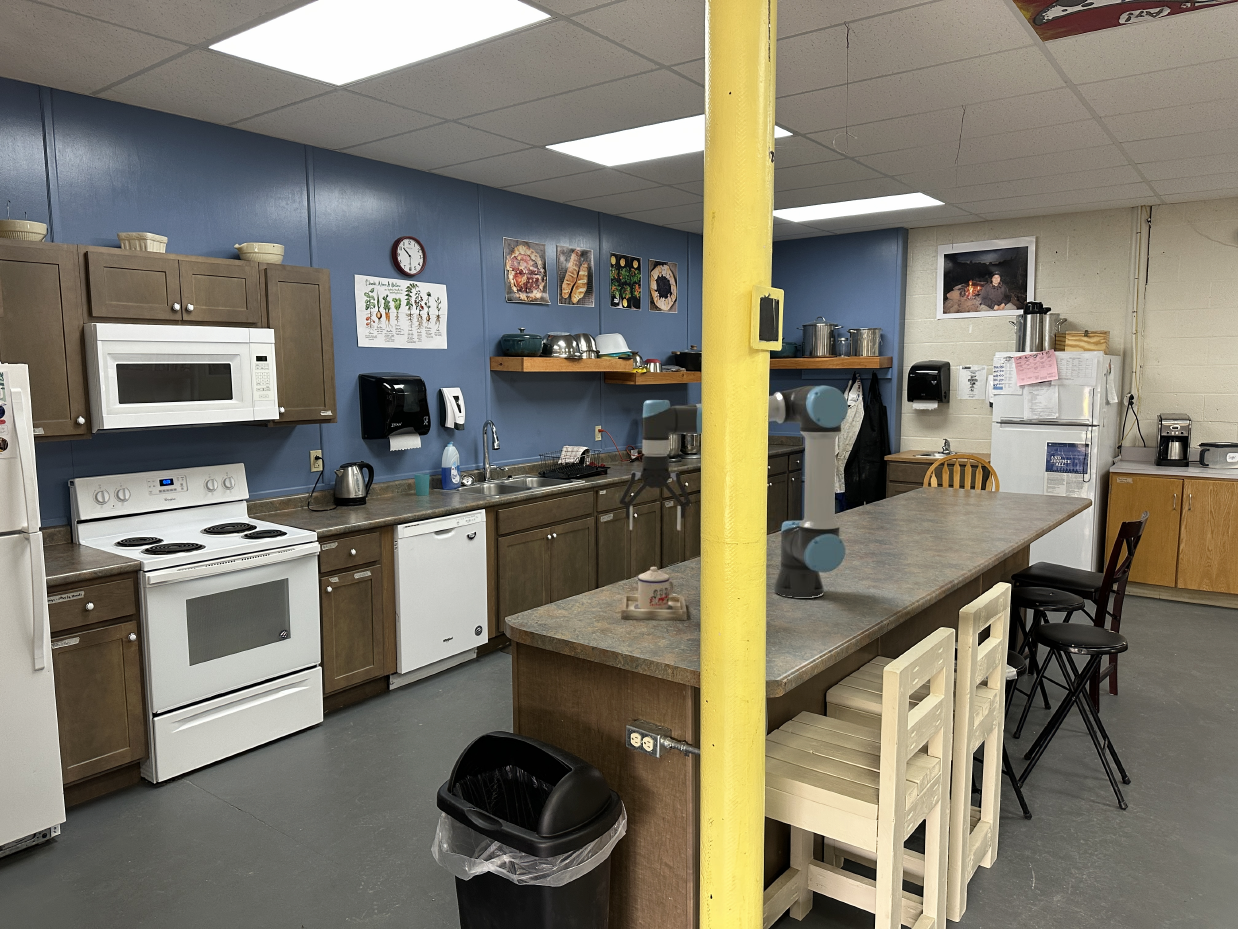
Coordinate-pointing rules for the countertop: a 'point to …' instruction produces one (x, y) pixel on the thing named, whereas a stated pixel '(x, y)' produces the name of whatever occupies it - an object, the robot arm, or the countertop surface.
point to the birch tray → (673, 611)
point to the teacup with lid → (654, 590)
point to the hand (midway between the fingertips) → (654, 529)
